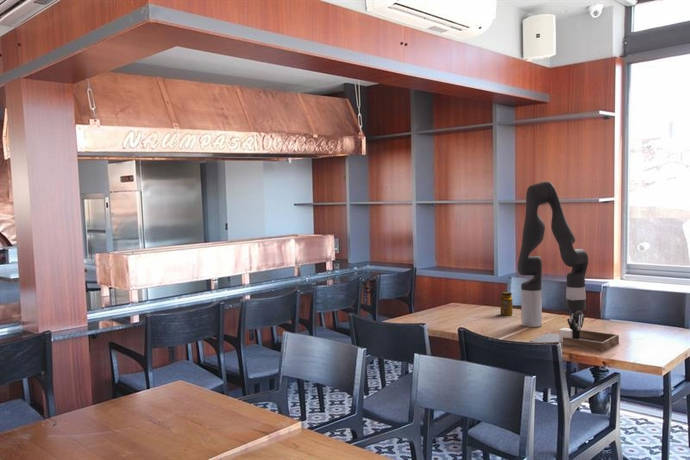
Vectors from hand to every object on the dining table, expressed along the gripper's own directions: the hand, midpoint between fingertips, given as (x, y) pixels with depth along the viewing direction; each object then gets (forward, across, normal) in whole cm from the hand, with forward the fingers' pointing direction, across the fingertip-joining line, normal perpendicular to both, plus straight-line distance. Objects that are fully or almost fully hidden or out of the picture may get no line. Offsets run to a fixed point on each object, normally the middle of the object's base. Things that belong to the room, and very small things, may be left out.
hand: (576, 339), depth 242 cm
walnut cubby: (+1, 0, +6) cm, 6 cm away
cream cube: (+1, 0, -4) cm, 4 cm away
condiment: (+2, -38, -52) cm, 64 cm away
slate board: (+2, 0, -1) cm, 2 cm away
